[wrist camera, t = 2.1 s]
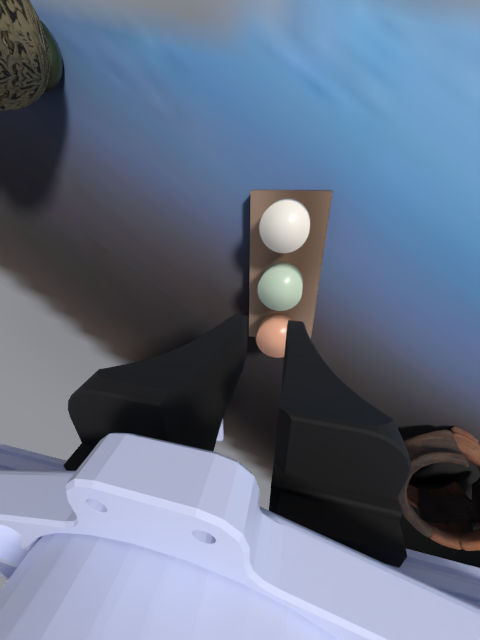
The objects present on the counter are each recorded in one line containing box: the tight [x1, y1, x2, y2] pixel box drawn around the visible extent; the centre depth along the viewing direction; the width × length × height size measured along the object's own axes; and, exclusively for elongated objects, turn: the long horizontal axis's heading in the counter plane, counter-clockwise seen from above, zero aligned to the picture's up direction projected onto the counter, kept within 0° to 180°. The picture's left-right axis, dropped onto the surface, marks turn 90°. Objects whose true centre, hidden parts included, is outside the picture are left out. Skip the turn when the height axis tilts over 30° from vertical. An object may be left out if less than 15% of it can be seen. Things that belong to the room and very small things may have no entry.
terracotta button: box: [256, 313, 294, 358], centre depth 19 cm, size 3×3×2 cm
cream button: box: [259, 198, 310, 253], centre depth 16 cm, size 3×3×2 cm
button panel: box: [249, 190, 332, 339], centre depth 20 cm, size 5×11×1 cm, turn 0°
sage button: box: [258, 262, 303, 311], centre depth 18 cm, size 3×3×2 cm
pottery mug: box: [398, 426, 480, 551], centre depth 23 cm, size 12×10×8 cm
